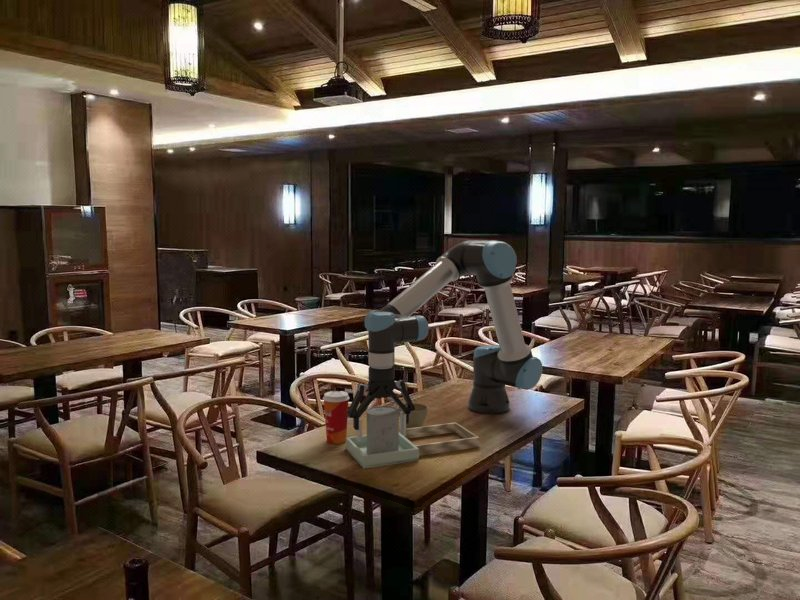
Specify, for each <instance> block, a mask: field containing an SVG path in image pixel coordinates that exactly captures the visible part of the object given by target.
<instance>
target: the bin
mask: <svg viewBox="0 0 800 600" xmlns="http://www.w3.org/2000/svg"><path fill="white" fill-rule="evenodd" d="M410 441H411V440H410V439H409V438H408V439H406V438H405V437H404V436H403V435H402V434H400V433H399V451H392V452H385V453H378V454H371V455H368V454H367V453H366V451H367V434H362V442H359V441H358V440H357V435H356V436H355V435H354V436H348V437H347V436H346V442H345V450H346V451H347V452H348V453H349V455H351V456H352V457H353V458H354V459H355V461H356V462H357V463H358V465H360V467H361V468H362V469H363V470H365V469H372V468H377V467H385V466H392V465H398V464H407V463H412V462H419V460H420V456H419V449H418V448H417V447H416V446H415V445H416V444H414V443H413V442H412V441H411V442H412V443H413V444H412V443H411V442H410Z"/></svg>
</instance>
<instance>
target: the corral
mask: <svg viewBox="0 0 800 600" xmlns="http://www.w3.org/2000/svg"><path fill="white" fill-rule="evenodd" d="M399 433H400V428H399ZM450 433H451V434H452V433H453V434H454V433H455V434H456V435H458V436H459V437H461V438H459V439H451V440H443V441H437V442H429V443H422V444H414V443H413V442H412V441H411V440H409V439H414V438H421V437H422V438H423V437H429V436H430V437H431V436H437V435H443V434H450ZM400 434H401V433H400ZM404 437H405V438H406V439H408V440H409V441H410V442H411V443H412V444H414V445H415V446H416V447H417V448H418V449H419V457H420V456H425V455H426V456H427V455H434V454H440V453H447V452H455V451H461V450H468V449H475V448H476V449H477V448H480V437H479V436H478V435H476V434H475V433H473V432H472V431H470V430H468V429H467V428H466V427H464V426H462V425H461V424H459V423H457V422H447V423H440V424H433V425H426V426H425V425H422V426H421V427H415V428H407V429H406V436H404Z"/></svg>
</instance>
